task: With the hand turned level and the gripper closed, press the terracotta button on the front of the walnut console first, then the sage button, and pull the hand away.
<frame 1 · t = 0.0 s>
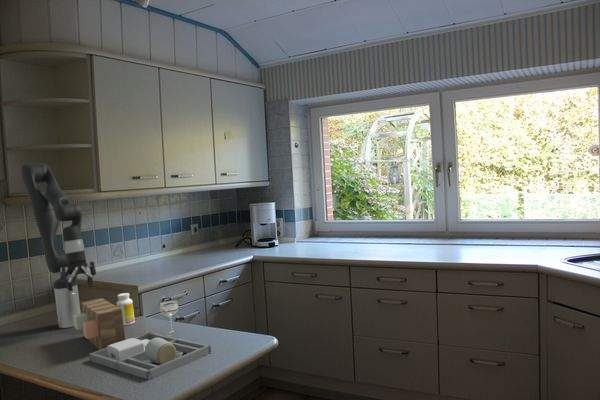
hand: (80, 288, 214), 17 cm above the worktop, tool pointing down, fingers open, 8 cm apart
ceramic mug: (165, 362, 164), resting on counter rail frame
supplement bottle: (127, 324, 216), on the worktop
button terracotta: (92, 328, 183), point 8 cm above the worktop, slide at 0.0 cm
console: (104, 341, 193), on the worktop
counter rail frame: (149, 356, 170), on the worktop
wineglass: (172, 333, 195), on the worktop
charger: (134, 354, 176), resting on counter rail frame
button sage: (82, 320, 196), point 8 cm above the worktop, slide at 0.0 cm
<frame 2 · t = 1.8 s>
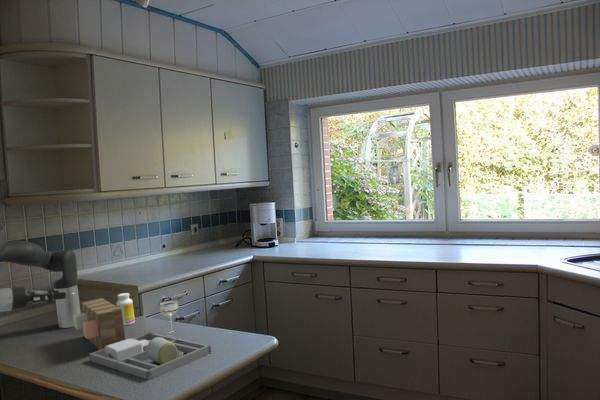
hand: (61, 294, 176), 23 cm above the worktop, tool horizontal, fingers open, 8 cm apart
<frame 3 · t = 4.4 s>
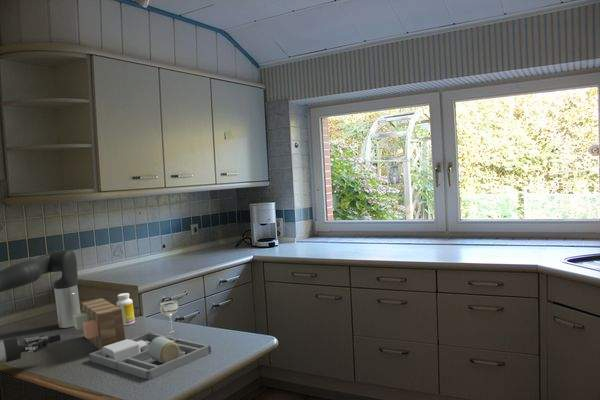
hand: (60, 337, 177), 8 cm above the worktop, tool horizontal, fingers closed
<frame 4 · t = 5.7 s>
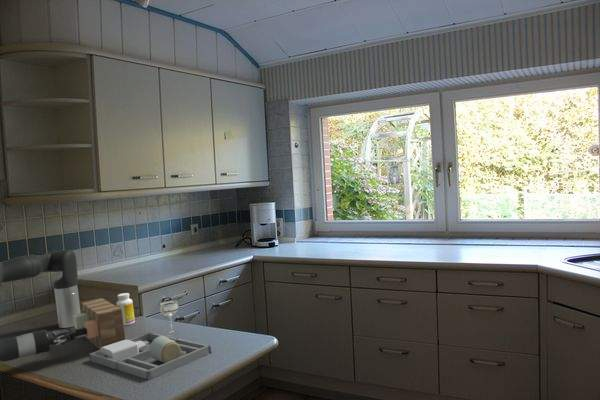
hand: (86, 330, 182), 8 cm above the worktop, tool horizontal, fingers closed
button terracotta: (93, 328, 183), point 8 cm above the worktop, slide at 0.5 cm, touching gripper
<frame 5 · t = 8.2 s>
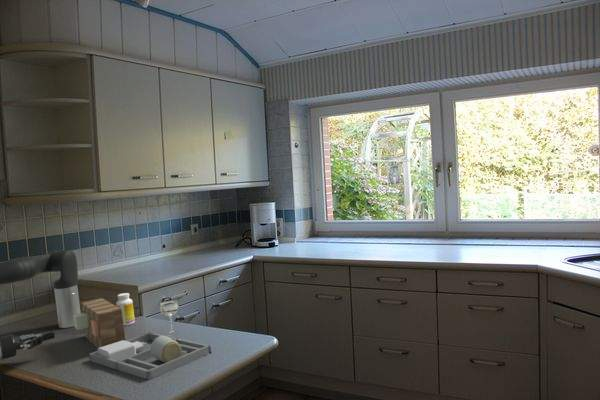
hand: (53, 334, 182), 7 cm above the worktop, tool horizontal, fingers closed
button terracotta: (100, 326, 184), point 8 cm above the worktop, slide at 2.9 cm
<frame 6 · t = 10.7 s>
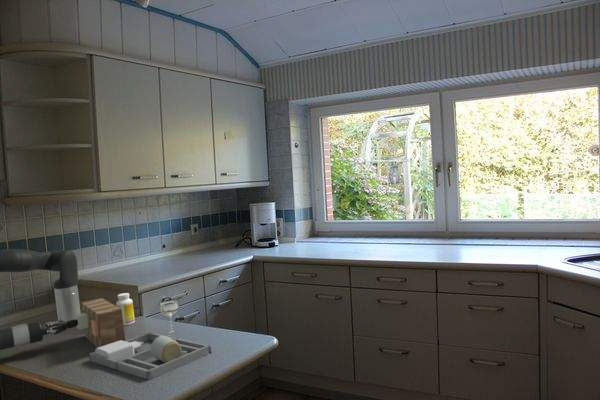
hand: (77, 322, 195), 8 cm above the worktop, tool horizontal, fingers closed
button sage: (84, 320, 196), point 8 cm above the worktop, slide at 0.7 cm, touching gripper
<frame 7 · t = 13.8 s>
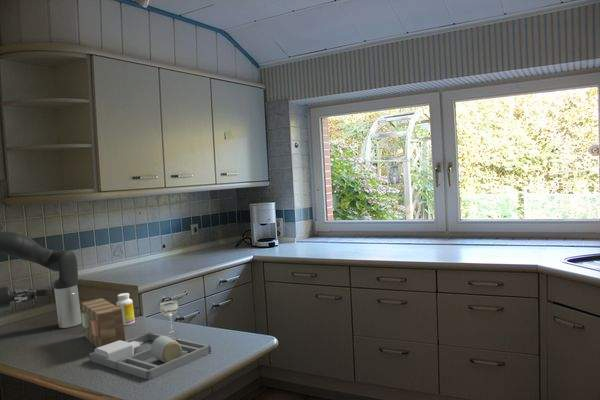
hand: (46, 292, 189), 22 cm above the worktop, tool horizontal, fingers closed
button sage: (90, 319, 197), point 8 cm above the worktop, slide at 2.9 cm
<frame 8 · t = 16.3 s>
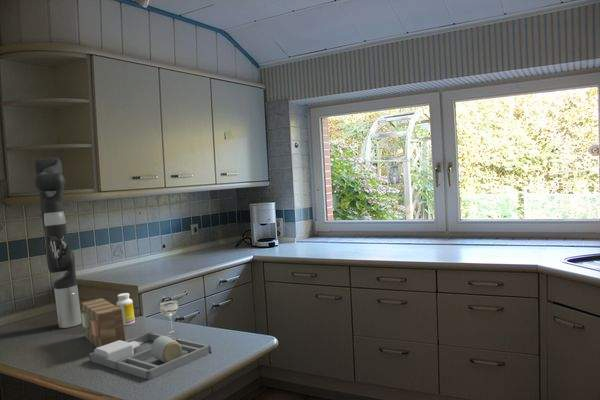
hand: (60, 266, 201), 29 cm above the worktop, tool pointing down, fingers closed
at the end: button terracotta slide at 2.9 cm; button sage slide at 2.9 cm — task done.
